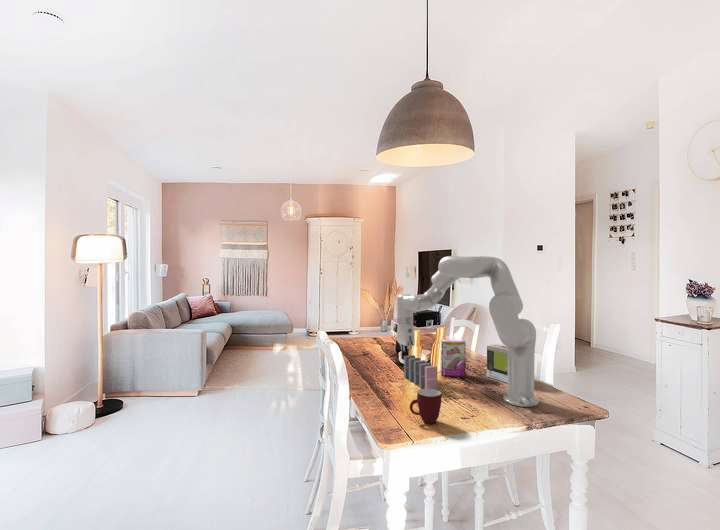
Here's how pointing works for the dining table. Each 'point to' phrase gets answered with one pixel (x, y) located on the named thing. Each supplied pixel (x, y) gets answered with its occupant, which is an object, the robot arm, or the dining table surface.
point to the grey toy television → (497, 362)
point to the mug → (428, 405)
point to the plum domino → (431, 377)
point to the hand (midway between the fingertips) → (405, 359)
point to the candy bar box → (453, 357)
